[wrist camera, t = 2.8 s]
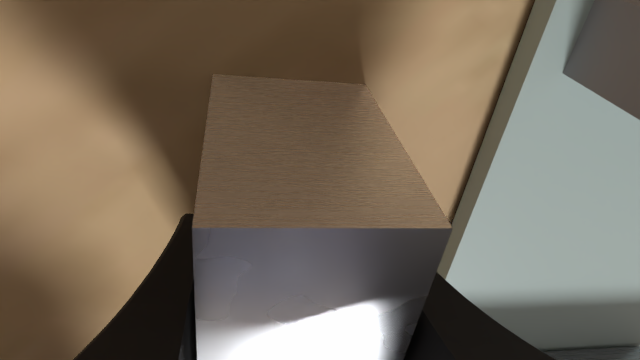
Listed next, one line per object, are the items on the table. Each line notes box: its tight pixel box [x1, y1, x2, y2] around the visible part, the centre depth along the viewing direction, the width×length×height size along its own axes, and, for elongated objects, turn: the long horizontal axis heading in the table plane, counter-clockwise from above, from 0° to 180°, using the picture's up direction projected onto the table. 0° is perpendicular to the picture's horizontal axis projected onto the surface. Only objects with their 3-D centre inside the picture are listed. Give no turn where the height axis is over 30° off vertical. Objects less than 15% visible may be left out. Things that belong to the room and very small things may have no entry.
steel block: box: [192, 74, 453, 360], centre depth 11 cm, size 4×8×6 cm, turn 173°
